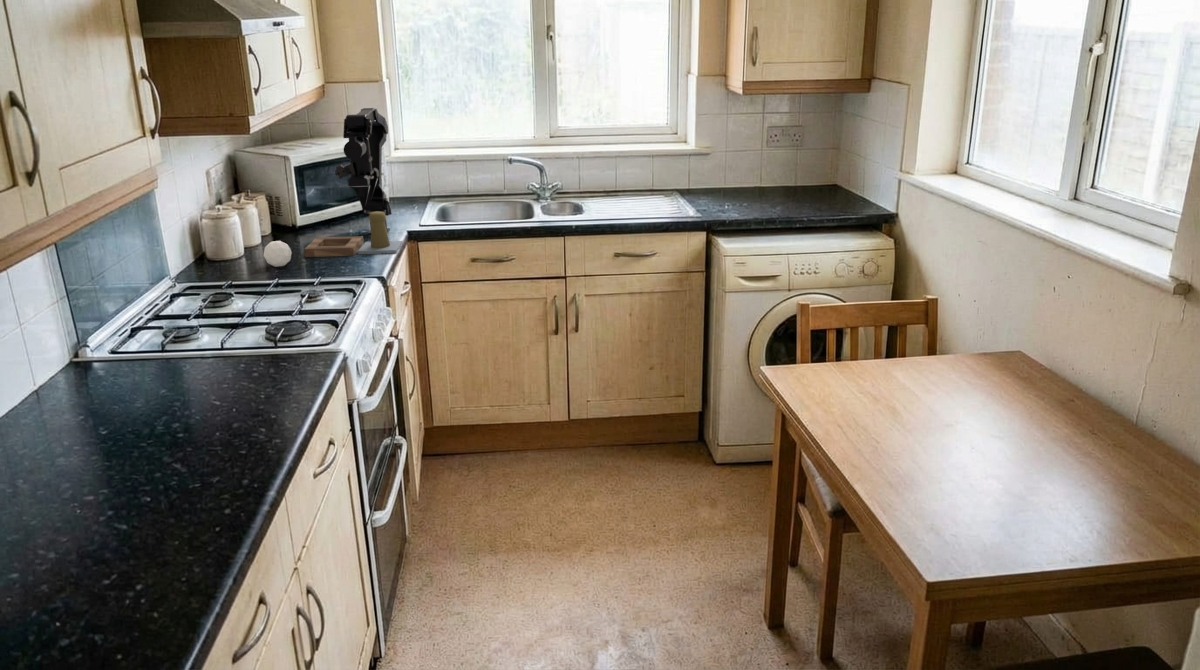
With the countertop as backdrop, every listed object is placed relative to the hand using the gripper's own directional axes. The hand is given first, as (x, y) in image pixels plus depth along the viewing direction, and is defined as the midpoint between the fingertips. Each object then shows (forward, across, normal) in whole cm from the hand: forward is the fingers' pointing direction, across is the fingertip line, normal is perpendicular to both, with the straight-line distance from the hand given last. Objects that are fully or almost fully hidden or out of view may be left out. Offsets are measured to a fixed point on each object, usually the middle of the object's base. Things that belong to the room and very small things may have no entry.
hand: (366, 203), depth 277 cm
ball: (+13, +26, -22) cm, 37 cm away
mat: (+13, +9, +5) cm, 17 cm away
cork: (+12, +9, +5) cm, 16 cm away
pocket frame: (+13, +9, -10) cm, 18 cm away
